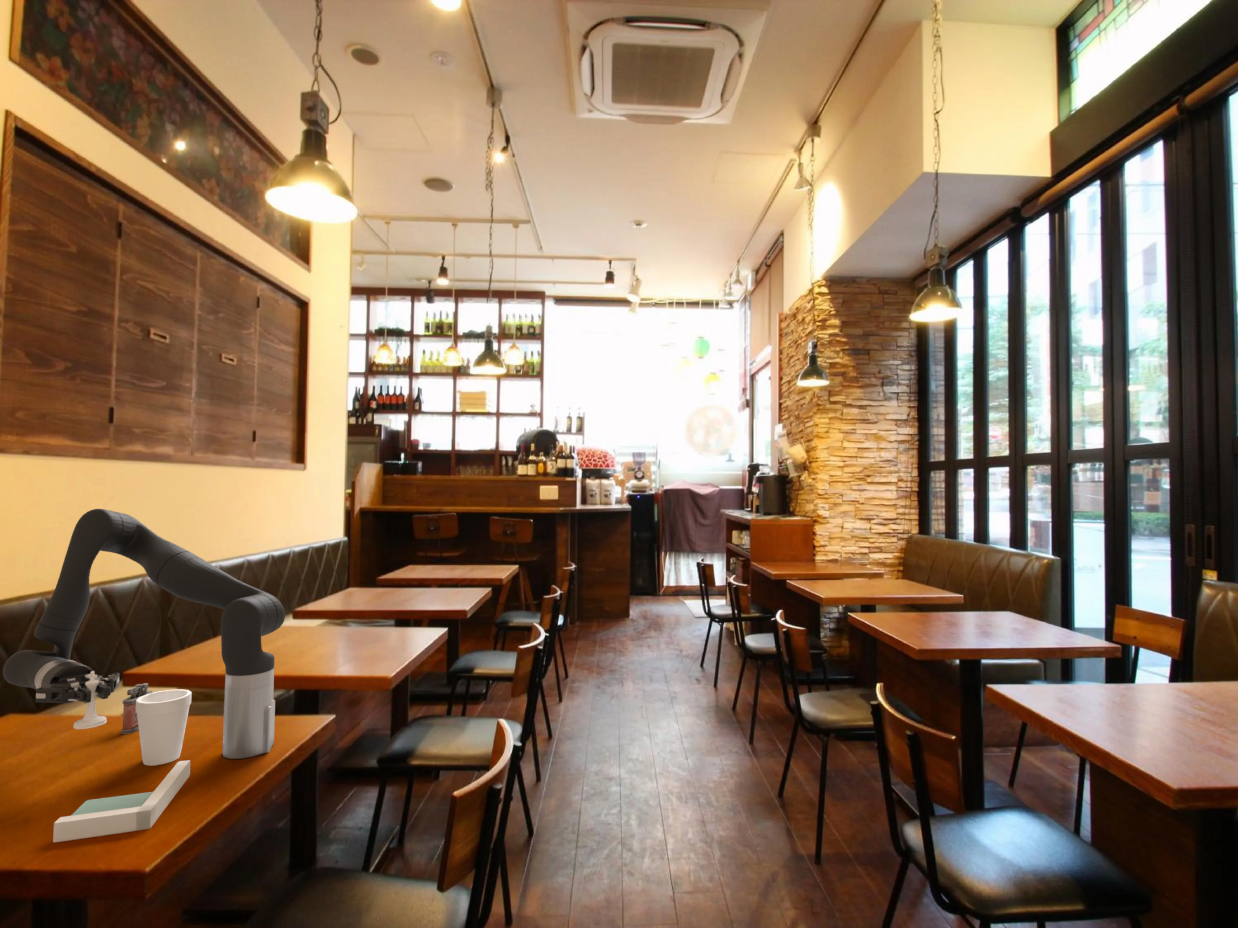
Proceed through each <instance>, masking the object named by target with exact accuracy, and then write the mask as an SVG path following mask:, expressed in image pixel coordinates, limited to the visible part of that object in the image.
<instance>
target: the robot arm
mask: <svg viewBox="0 0 1238 928" xmlns="http://www.w3.org/2000/svg"><path fill="white" fill-rule="evenodd" d="M68 543H69V544H68V546H67V549H66V553H65V556H64V559H63V560H64V561H63V563H62V566H61V570H60V572H59V577H58V579H57V583H56V584H55V588H54V591H53V593H52V595H51V597H50V600H49V601H48V604H47V605H46V607H45V610H44V611H43V613H42V615H41V617H40V619H39V621H38V623H37V625H36V627H35V629H34V632H33V636H34V637H35V638H36V639H38V640H40V641H41V642H42V641H43V642H46V643H50V644H52V645H53V646H54V648H53V651H44V650H35V649H23V650H22V649H21V650H19V651H16V652H15V653H13V654H12V655H11V656H9V658H8V659H7V660H6V661H5V663H4V665H3V668H2V675H3V676H2V677H3V678H4V680H5V681H6V682H7V683H8V684H11V685H13V686H18V687H24V688H31V689H34V690H35V691H36V693H35V703H39V704H40V703H44V704H45V703H46V704H49V703H50V704H71V703H75V702H79V703H80V702H81V703H85V704H87V703H89V702H91V690H89V689H87V687H86V685H85V683H86V682H87V681H90V677H88V675H89V674H90V672H91V671H94V670H93V669H92V668H91V667H90V666H88V665H85V664H83V663H81V662H77V661H75V660H73V659H71V654H72V648H73V644H74V640H75V637H76V635H77V632H78V631H79V628H80V626H81V624H82V622H83V620H84V618H85V615H86V614H87V611H88V609H89V605H90V599H91V591H90V590H91V589H90V575H91V570H92V567H93V564H94V561H95V559H97V556H98V554H99V553H100V552H107V553H113V554H117V555H120V556H123V557H125V558H127V559H130V560H131V561H132V562H135V563H136V564H138V565H140V566H141V567H142V568H143V570H144V572H145V574H146V575H147V577H148V578H149V579H150V580H151V581H152V582H153V583H154V584H155V585H156V586H158V587H160V588H161V589H162V590H165V591H167V592H168V593H169V594H171V595H174V597H175V596H176V597H178V598H180V599H183V600H186V601H190V602H194V603H197V604H202V605H203V604H204V605H207V606H211V607H214V608H215V607H216V608H218V609H220V610H221V609H222V610H223V612H222V615H221V622H220V623H221V624H220V637H221V638H220V639H221V641H220V643H221V645H220V646H221V658H222V659H221V660H222V661H223V664H224V666H225V677H224V679H225V680H224V681H225V682H224V701H223V702H224V703H223V731H222V732H223V733H222V756H223V757H224V758H226V759H230V760H233V759H234V760H235V759H236V760H237V759H239V760H240V759H247V758H252V757H255V756H260V755H262V754H268V753H270V751H271V749H272V747H273V745H274V743H275V717H276V716H275V714H276V700H275V699H274V689H275V687H274V684H275V682H274V681H275V656H274V653H271V652H267V651H263V648H262V637H264V636H267V635H269V634H272V633H274V632H275V631H277V630H278V629H280V628H281V626H282V625H283V624H284V623H285V619H286V613H285V609H284V606H283V604H282V602H281V601H280V600H279V599H278V598H277V597H276V596H274V595H272V594H270V593H269V592H267V591H264V590H261V589H258V588H256V587H254V586H252V585H249V584H247V583H244V582H243V581H241V580H238V579H237V578H235V577H234V576H232V575H230V574H228V573H227V572H225V571H223V570H221V569H220V568H218V567H216V566H215V565H213V564H211V563H209V562H208V561H206V560H205V559H203V558H201V557H200V556H198V555H196V554H194V553H192V552H191V551H189V550H187V549H185V548H183V547H181V546H180V545H177V544H176V543H174V542H171V541H170V540H166V539H165V538H163V537H161V536H159V535H158V534H157V533H155V532H154V531H152V530H151V529H149V528H148V526H146V525H145V524H143V523H142V522H141V521H140V520H139V519H137V518H135V517H133V516H132V515H130V514H127V513H123V512H118V511H114V510H109V509H104V508H94V509H91V510H89V511H86V512H85V513H84V514H82V515H81V516H80V518H79V519H78V520H77V522H76V524H75V526H74V528H73V531H72V534H71V537H70V540H69V542H68ZM96 675H97V677H95V678H94V680H98V681H99V683H98V685H97V688H96V690H95V692H98V695H97V696H96V697H97V698H98V699H101V700H105V699H108V698H109V696H111V694H112V693H114V692H115V691H116V689H117V688H118V687H119V686H120V672H114V673H112V674H109V675H107V677H103V676H102V675H98V674H96Z"/></svg>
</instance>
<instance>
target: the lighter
mask: <svg viewBox="0 0 1238 928" xmlns="http://www.w3.org/2000/svg"><path fill="white" fill-rule="evenodd" d="M148 688H149V683H148V682H146V683H145V682H144V683H142V684H141V683H137V684H135V685H134V686H133V687H131V688H129V689H128V690H127V691H126V695H127V696H128V697H126V698H125V699H123V700H122V705H123V711H122V712H123V713H122V728H121V731H120V732H121V734H122V735H129V734H134V733H135V732H139V726H138V718H137V713H136V700H137V699H138V698H139V697H141V696H144V695H146V694H150V693H154V692H153V690H148Z"/></svg>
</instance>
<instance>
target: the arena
mask: <svg viewBox="0 0 1238 928" xmlns="http://www.w3.org/2000/svg"><path fill="white" fill-rule="evenodd" d="M190 776H191V760H190V759H188V760H186V759H185V760H180V761H177V762H176V764H175V765H174V766H173V768H172V769H171V770H170V771H169V772H168V774H167V775H166V776H165V777H164V779H162V780H161V782H160V783H159V785H157V786H156V788H155V789H154V791H149V792H147V791H146V792H141V793H133V794H126V795H116V796H110V797H101V798H95V799H86V801H84V802H83V803H82V804H81V805H80V806H79V807H78V808H77V809H76V810H75V811H74V812H73V813H72V814H71V815H67V816H59V818H58V819H57V820H56V821H54V823H53V835H52V842H53V843H60V842H61V843H62V842H67V841H73V840H80V839H88V838H93V837H94V838H95V837H102V836H107V835H108V836H110V835H116V834H124V833H129V832H136V831H142V830H150V829H151V828H152V827H153V826H154V824H155V823H156V822H157V820H158V819H159V818H160V816H161V815H162V813H163V812H164V811H165V809H166V808H167V807H168V805H169V804H170V803H171V801H172V800H174V797H175V796H176V795H177V793H178V792H179V791H180V790H181V788H182V787H183V786H184V785H185V783H186V781H188V779H189V777H190Z"/></svg>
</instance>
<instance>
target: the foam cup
mask: <svg viewBox="0 0 1238 928" xmlns="http://www.w3.org/2000/svg"><path fill="white" fill-rule="evenodd" d="M191 704H192V691H190V690H189V689H181V688H179V689H178V688H177V689H167V690H159V691H155V692H153V693H150V694H146V695H144V696H141V697H139V698H138V699H137V700H136V713H137V718H138V726H139V730H138V734H139V742H140V751H141V759H142V764H143V765H145V766H159V765H164V764H168V763H169V764H170V763H171V762H173V761H176V760H177V759H179V758H180V756H181V753H182V749H183V744H184V739H185V731H186V727H187V722H188V718H189V717H188V716H189V710H190V705H191Z"/></svg>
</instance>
